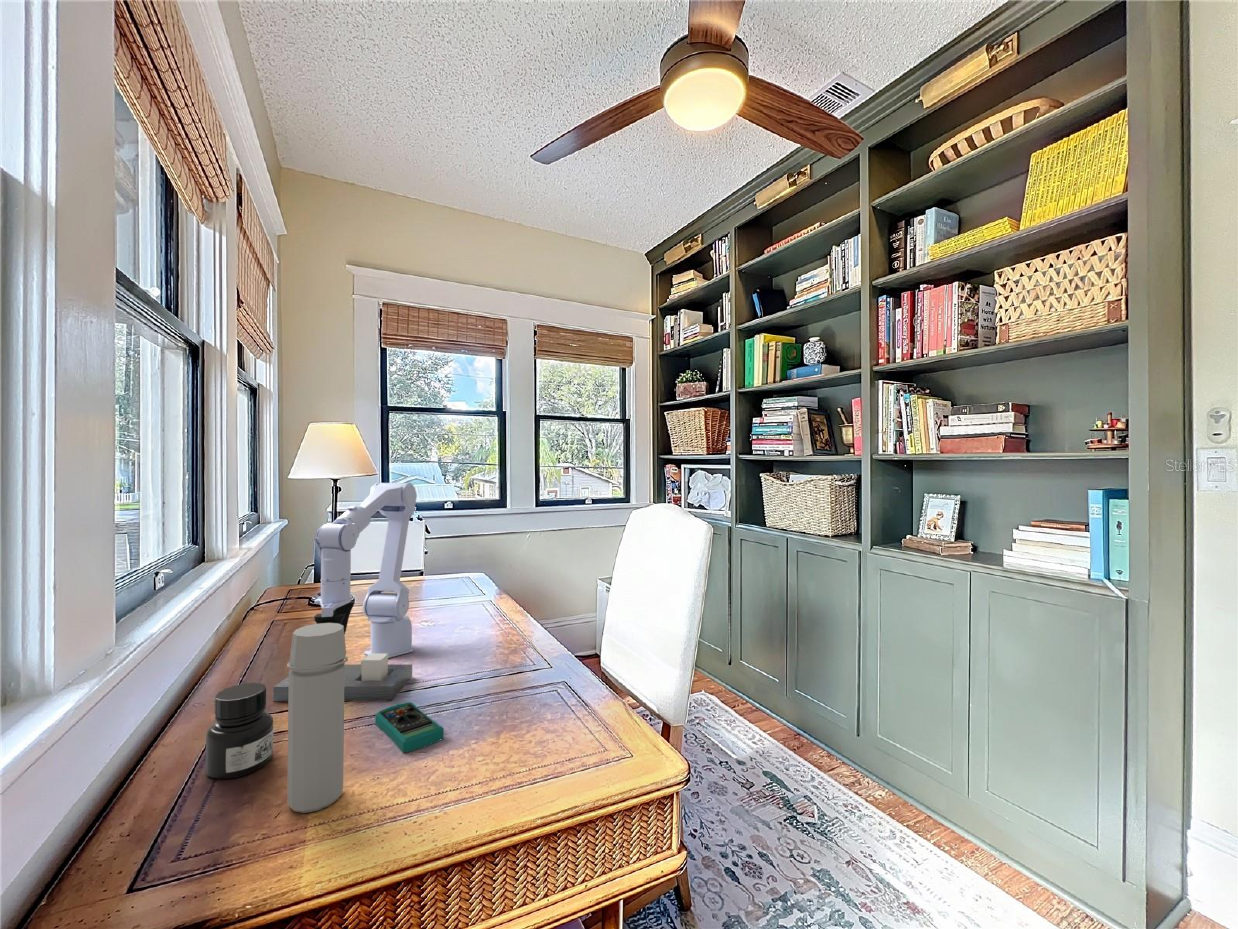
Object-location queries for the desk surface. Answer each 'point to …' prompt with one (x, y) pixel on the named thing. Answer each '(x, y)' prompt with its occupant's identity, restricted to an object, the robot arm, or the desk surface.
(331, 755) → the water bottle
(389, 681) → the jack panel
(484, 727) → the desk surface
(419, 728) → the digital multimeter
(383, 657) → the plug
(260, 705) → the ink bottle
